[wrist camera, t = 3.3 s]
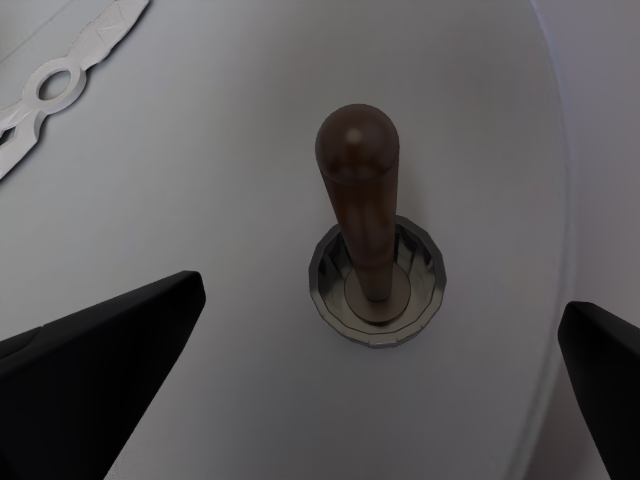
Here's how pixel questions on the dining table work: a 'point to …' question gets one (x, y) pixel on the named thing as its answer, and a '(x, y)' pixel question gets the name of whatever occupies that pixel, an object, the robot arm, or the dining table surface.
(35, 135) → the knife
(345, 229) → the brown wooden rod
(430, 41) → the dining table surface
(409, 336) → the utensil holder
